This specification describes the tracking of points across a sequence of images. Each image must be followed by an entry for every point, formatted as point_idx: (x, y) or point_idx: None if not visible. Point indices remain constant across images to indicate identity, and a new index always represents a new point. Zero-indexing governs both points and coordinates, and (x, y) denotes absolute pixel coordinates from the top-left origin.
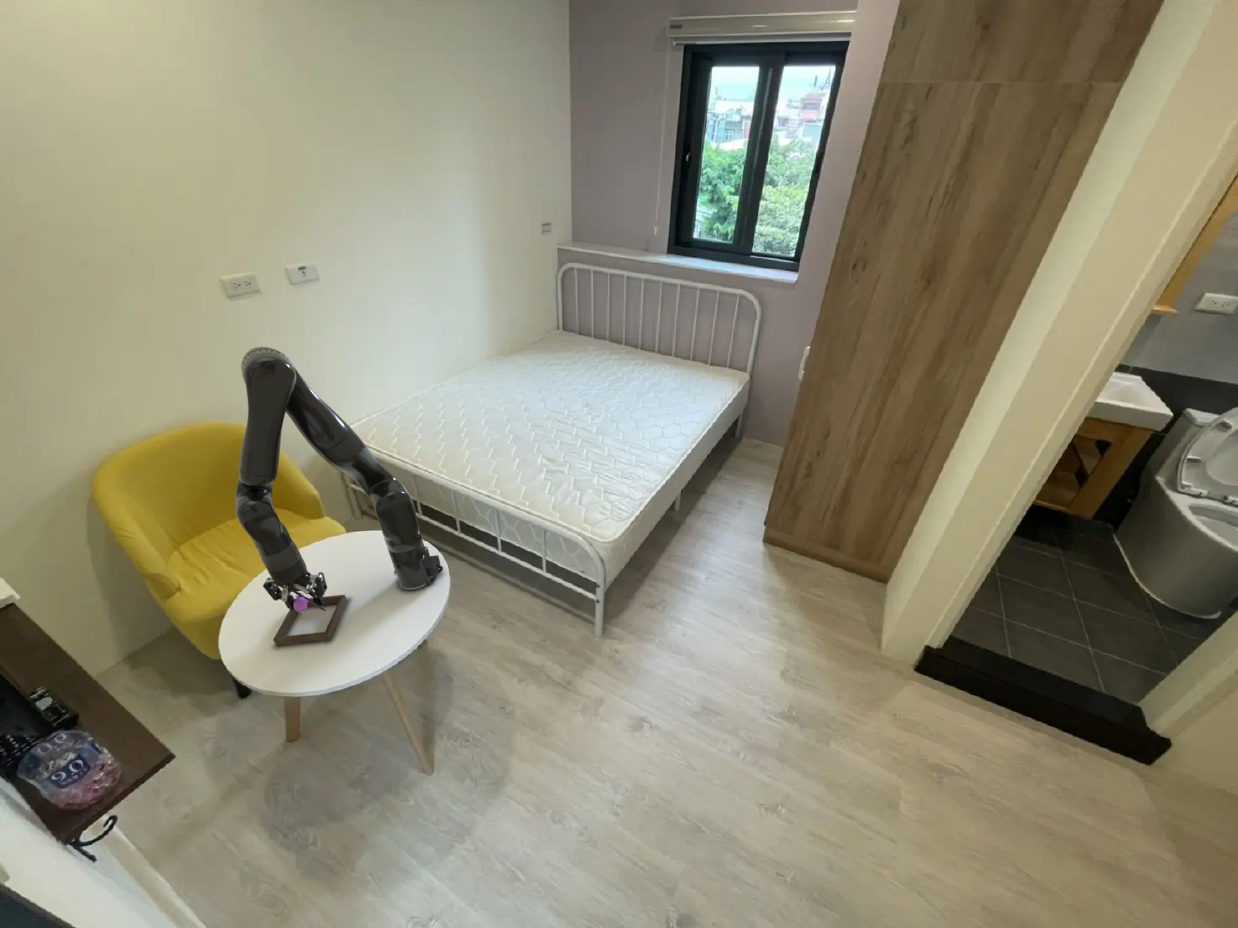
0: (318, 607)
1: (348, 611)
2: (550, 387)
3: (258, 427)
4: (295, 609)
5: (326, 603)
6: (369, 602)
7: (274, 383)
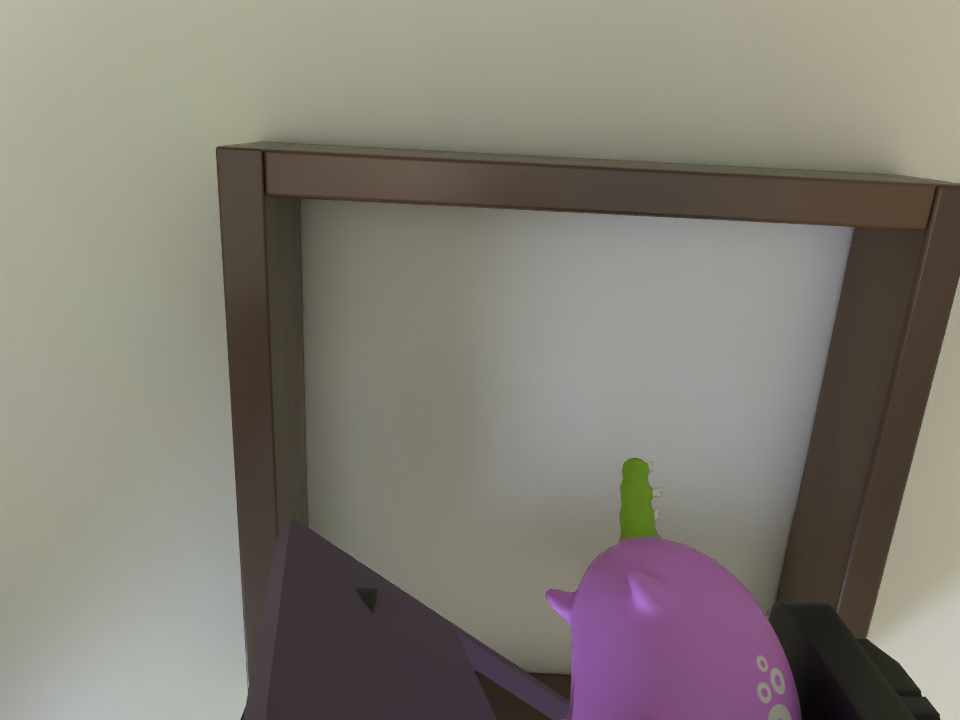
0: (358, 586)
1: (216, 551)
2: None
3: None
4: (738, 595)
5: (484, 689)
6: (30, 632)
7: None
